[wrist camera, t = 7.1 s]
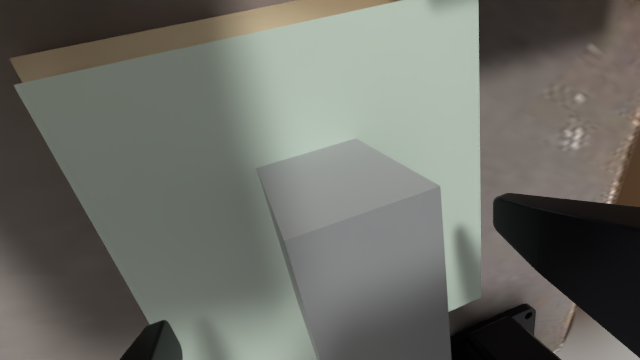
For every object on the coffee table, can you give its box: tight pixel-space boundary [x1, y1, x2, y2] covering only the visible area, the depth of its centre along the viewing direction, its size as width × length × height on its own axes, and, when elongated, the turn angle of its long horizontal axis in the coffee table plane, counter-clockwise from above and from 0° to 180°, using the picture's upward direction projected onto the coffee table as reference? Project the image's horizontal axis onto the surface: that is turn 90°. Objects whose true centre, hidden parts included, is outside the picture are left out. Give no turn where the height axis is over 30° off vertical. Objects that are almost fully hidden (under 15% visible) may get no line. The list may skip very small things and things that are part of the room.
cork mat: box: [9, 0, 401, 83], centre depth 12 cm, size 13×13×1 cm
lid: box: [14, 0, 481, 360], centre depth 9 cm, size 12×12×6 cm
